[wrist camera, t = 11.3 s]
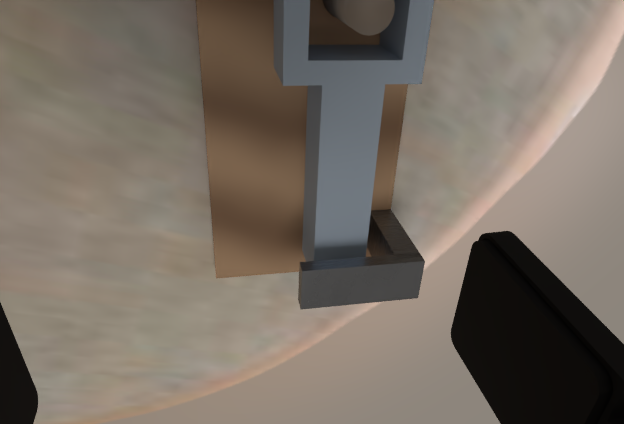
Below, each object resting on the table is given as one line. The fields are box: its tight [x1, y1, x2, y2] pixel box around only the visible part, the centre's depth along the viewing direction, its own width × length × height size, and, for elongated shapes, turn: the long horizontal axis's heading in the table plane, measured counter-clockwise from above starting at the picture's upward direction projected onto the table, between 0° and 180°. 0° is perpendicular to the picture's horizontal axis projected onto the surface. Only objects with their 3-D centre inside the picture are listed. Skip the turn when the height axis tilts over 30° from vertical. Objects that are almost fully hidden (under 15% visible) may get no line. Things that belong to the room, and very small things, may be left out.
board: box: [196, 0, 408, 278], centre depth 25 cm, size 21×11×6 cm, turn 178°
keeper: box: [298, 209, 425, 309], centre depth 29 cm, size 2×7×7 cm, turn 88°
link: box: [274, 0, 434, 262], centre depth 25 cm, size 18×7×4 cm, turn 178°
